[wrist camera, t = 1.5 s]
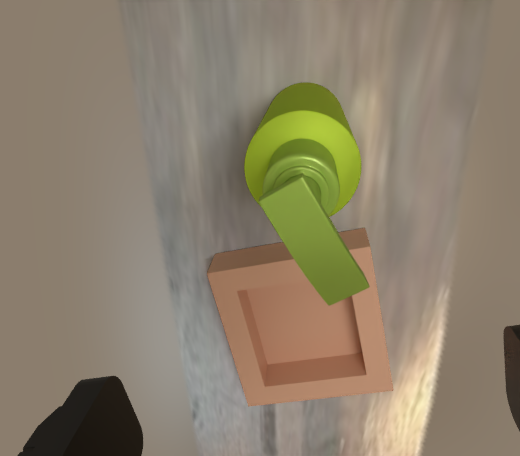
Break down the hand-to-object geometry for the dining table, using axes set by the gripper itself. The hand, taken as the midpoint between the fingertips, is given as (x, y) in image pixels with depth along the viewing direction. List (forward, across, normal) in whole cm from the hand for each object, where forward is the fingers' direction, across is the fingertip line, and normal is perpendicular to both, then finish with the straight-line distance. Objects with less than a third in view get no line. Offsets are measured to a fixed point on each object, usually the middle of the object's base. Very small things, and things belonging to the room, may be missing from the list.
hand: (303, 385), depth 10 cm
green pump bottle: (+28, 0, 0) cm, 28 cm away
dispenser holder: (+28, +4, +16) cm, 32 cm away
